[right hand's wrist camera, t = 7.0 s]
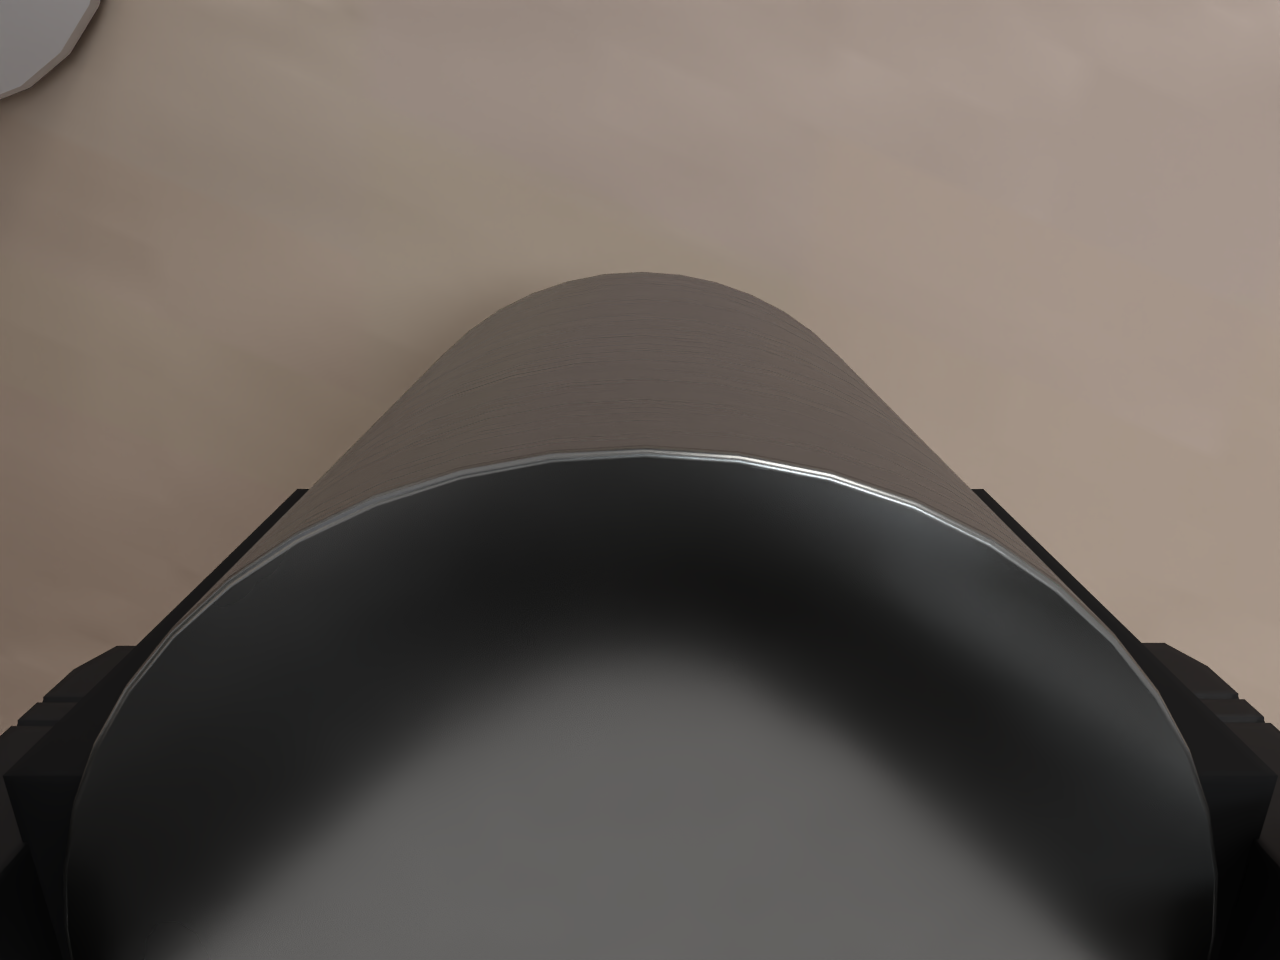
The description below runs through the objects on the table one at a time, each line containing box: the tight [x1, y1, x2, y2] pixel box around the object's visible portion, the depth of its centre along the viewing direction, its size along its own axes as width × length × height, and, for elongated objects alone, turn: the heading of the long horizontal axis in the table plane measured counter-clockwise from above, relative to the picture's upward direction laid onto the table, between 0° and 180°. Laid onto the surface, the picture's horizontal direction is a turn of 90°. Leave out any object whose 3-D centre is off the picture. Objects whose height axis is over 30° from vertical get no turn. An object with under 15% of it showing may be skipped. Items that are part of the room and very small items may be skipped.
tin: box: [63, 272, 1218, 960], centre depth 11 cm, size 9×9×9 cm
